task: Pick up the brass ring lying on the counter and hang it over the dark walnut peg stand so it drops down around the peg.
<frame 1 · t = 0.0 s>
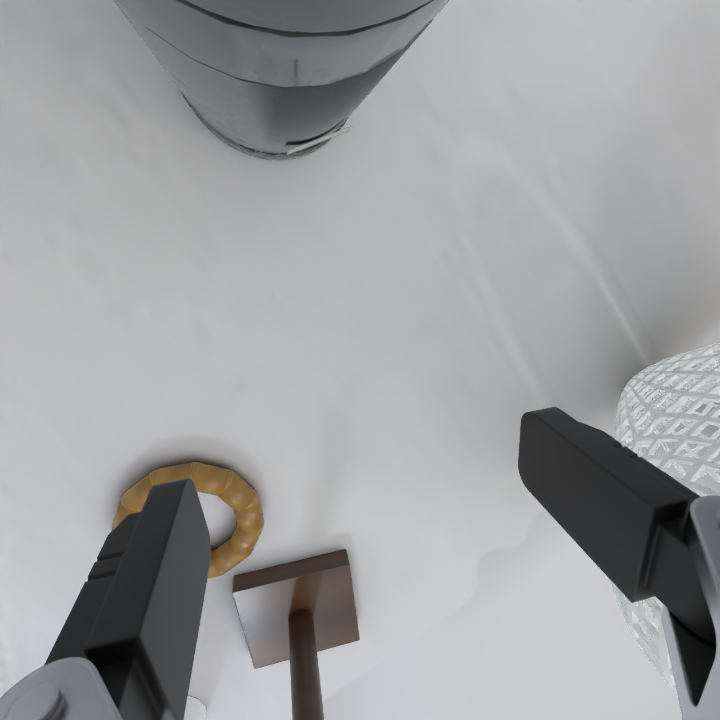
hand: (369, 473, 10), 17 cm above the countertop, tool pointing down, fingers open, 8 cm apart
post: (299, 601, 34), on the countertop
heart: (634, 380, 33), on the countertop
ring: (191, 524, 28), point 1 cm above the countertop
foam cup: (169, 715, 36), on the countertop
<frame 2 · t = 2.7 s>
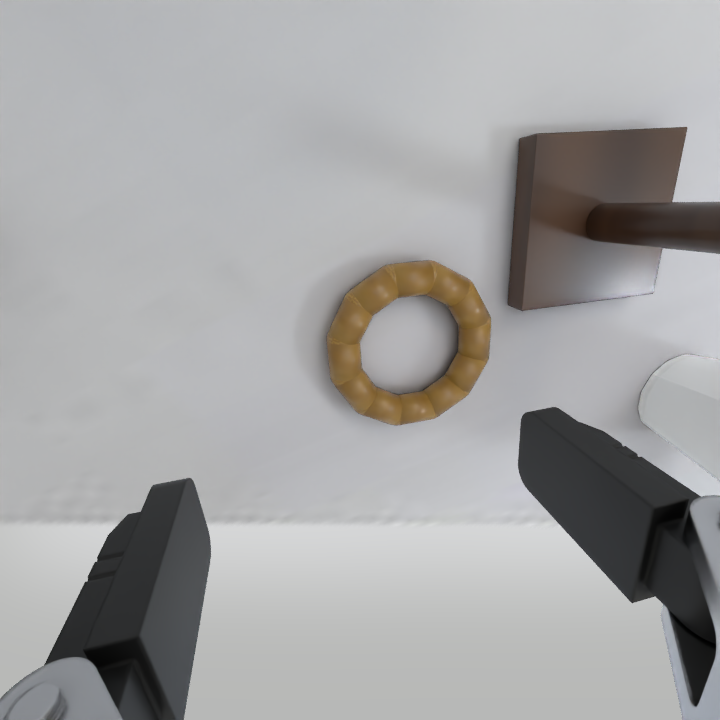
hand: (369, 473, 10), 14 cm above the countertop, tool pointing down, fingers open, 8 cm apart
post: (582, 221, 24), on the countertop
ring: (411, 347, 23), point 1 cm above the countertop
foam cup: (672, 392, 30), on the countertop
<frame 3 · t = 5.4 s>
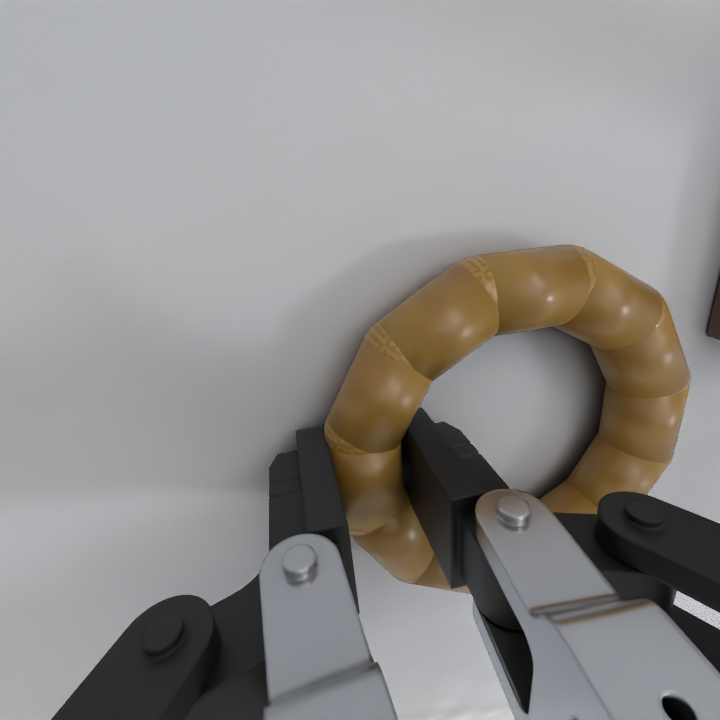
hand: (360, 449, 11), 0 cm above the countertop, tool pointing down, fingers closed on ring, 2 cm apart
ring: (511, 438, 10), point 1 cm above the countertop, touching gripper
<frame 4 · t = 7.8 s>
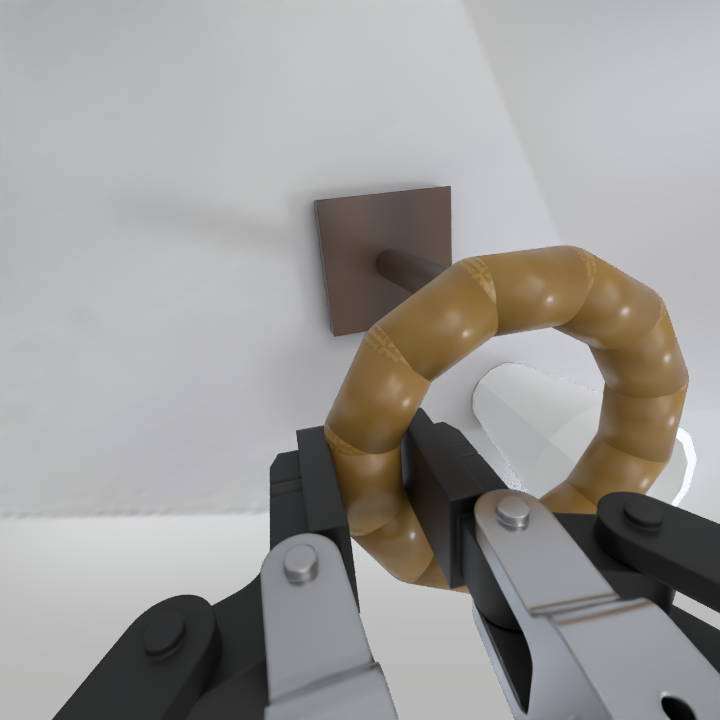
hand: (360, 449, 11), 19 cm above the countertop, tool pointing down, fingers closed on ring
post: (384, 261, 29), on the countertop
ring: (510, 439, 11), point 20 cm above the countertop, touching gripper
foam cup: (503, 395, 36), on the countertop
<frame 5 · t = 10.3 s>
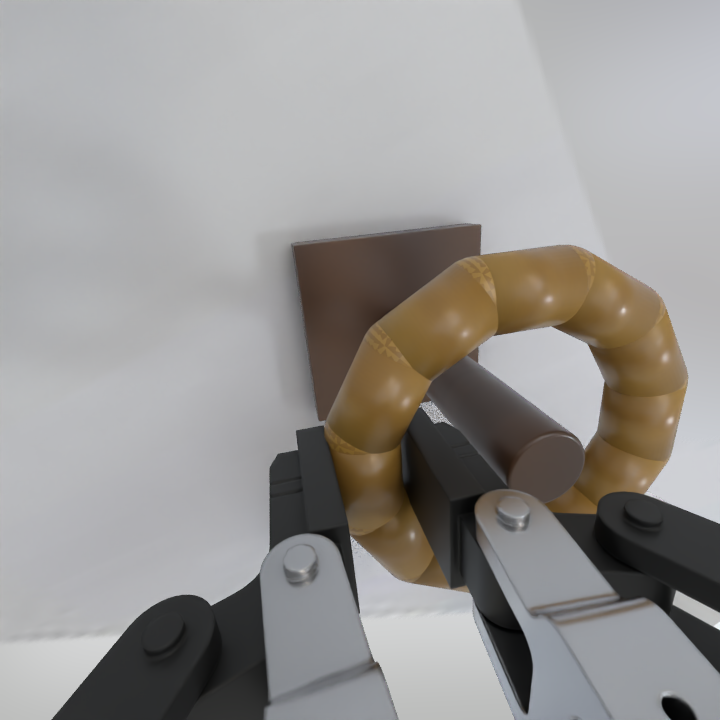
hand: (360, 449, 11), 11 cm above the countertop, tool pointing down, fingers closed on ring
post: (388, 320, 22), on the countertop
ring: (510, 438, 11), point 12 cm above the countertop, touching gripper
foam cup: (536, 477, 28), on the countertop
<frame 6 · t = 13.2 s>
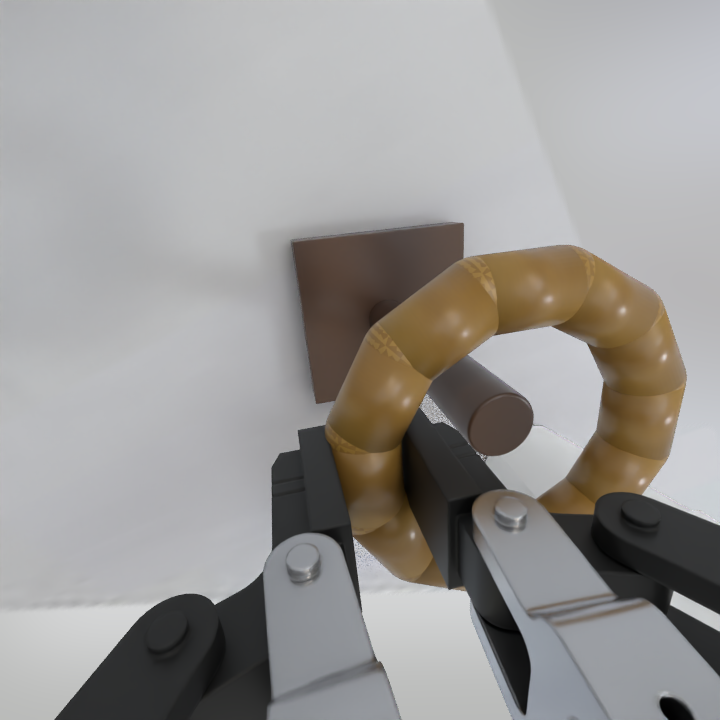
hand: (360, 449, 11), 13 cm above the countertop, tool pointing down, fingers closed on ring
post: (380, 311, 23), on the countertop
ring: (510, 437, 11), point 14 cm above the countertop, touching gripper
foam cup: (521, 461, 30), on the countertop
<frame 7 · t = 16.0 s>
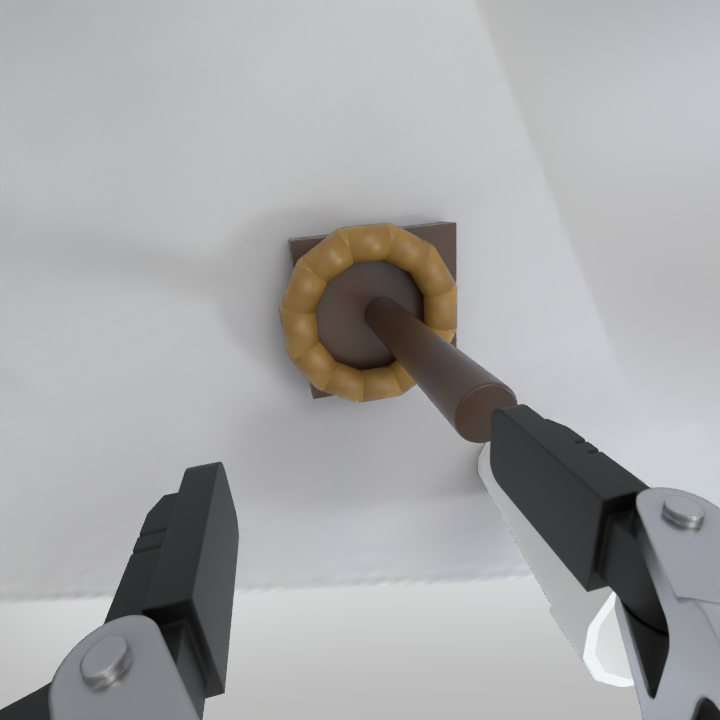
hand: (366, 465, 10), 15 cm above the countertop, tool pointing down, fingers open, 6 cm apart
post: (375, 308, 24), on the countertop
ring: (372, 318, 22), point 2 cm above the countertop, touching post
foam cup: (514, 455, 31), on the countertop
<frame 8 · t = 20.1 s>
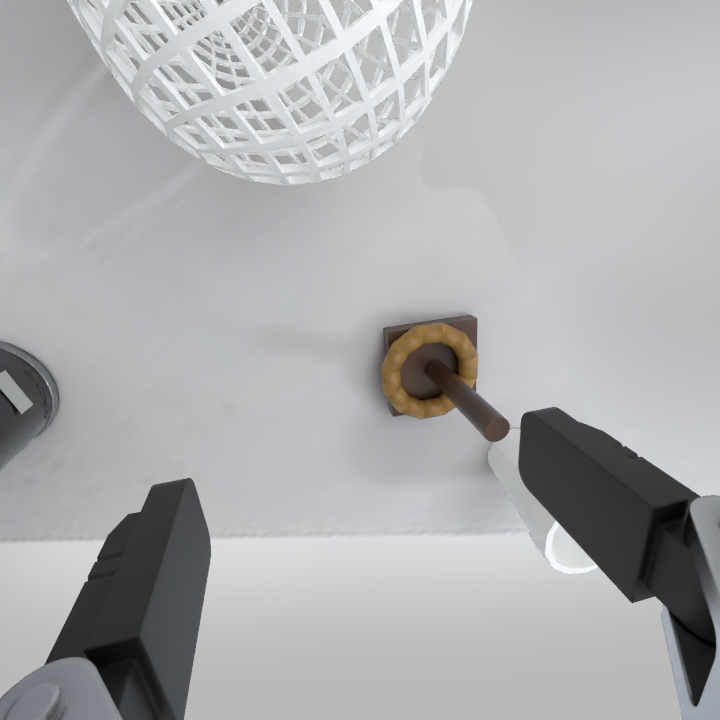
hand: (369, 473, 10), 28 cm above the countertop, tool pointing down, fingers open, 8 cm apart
post: (428, 363, 41), on the countertop
ring: (430, 372, 39), point 2 cm above the countertop, touching post
foam cup: (511, 450, 48), on the countertop
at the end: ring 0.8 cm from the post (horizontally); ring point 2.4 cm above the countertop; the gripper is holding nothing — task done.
